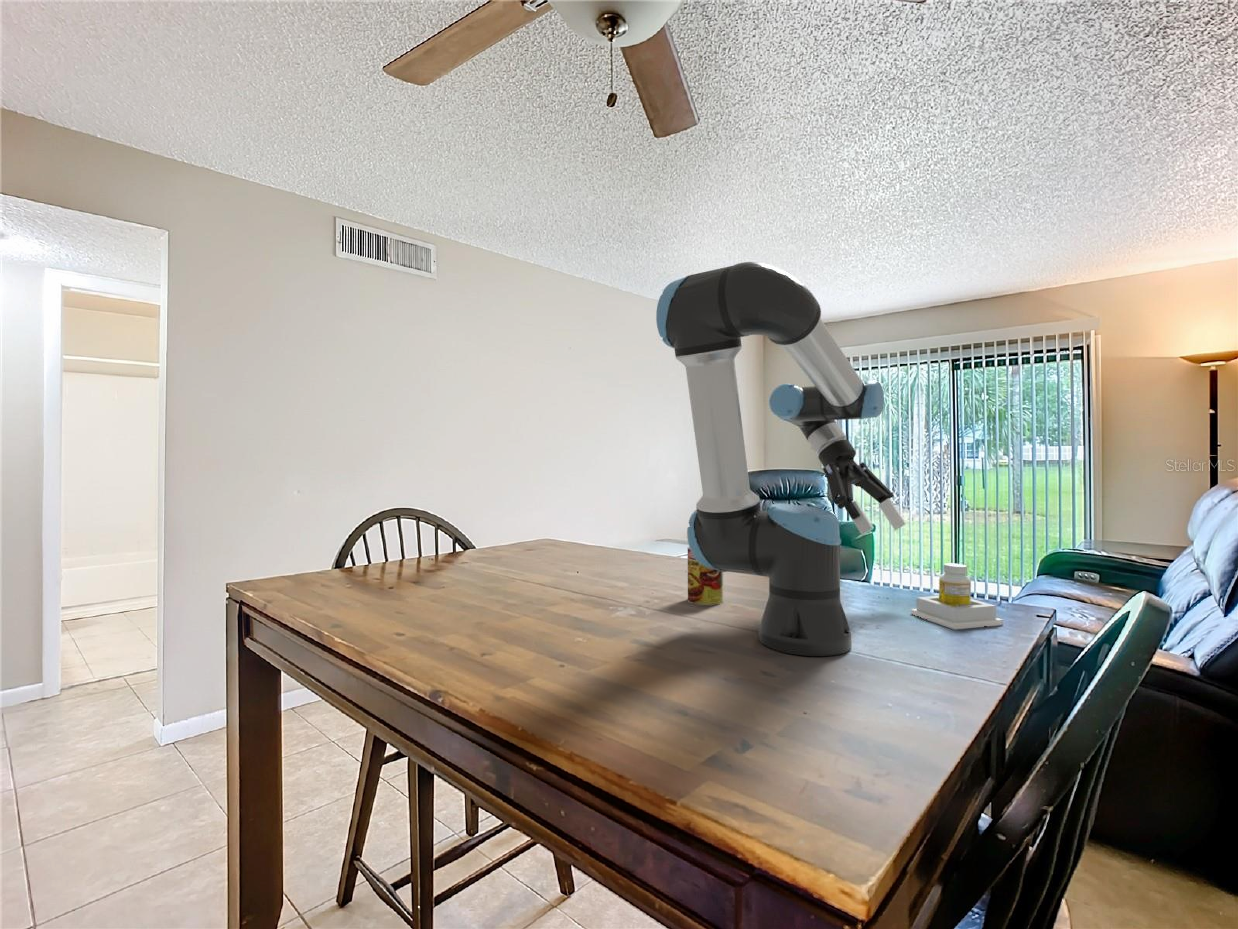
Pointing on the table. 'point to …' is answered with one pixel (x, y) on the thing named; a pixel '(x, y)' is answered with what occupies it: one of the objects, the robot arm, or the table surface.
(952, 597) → the supplement bottle
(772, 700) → the table surface
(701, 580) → the canned food
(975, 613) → the socket collar
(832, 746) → the table surface
